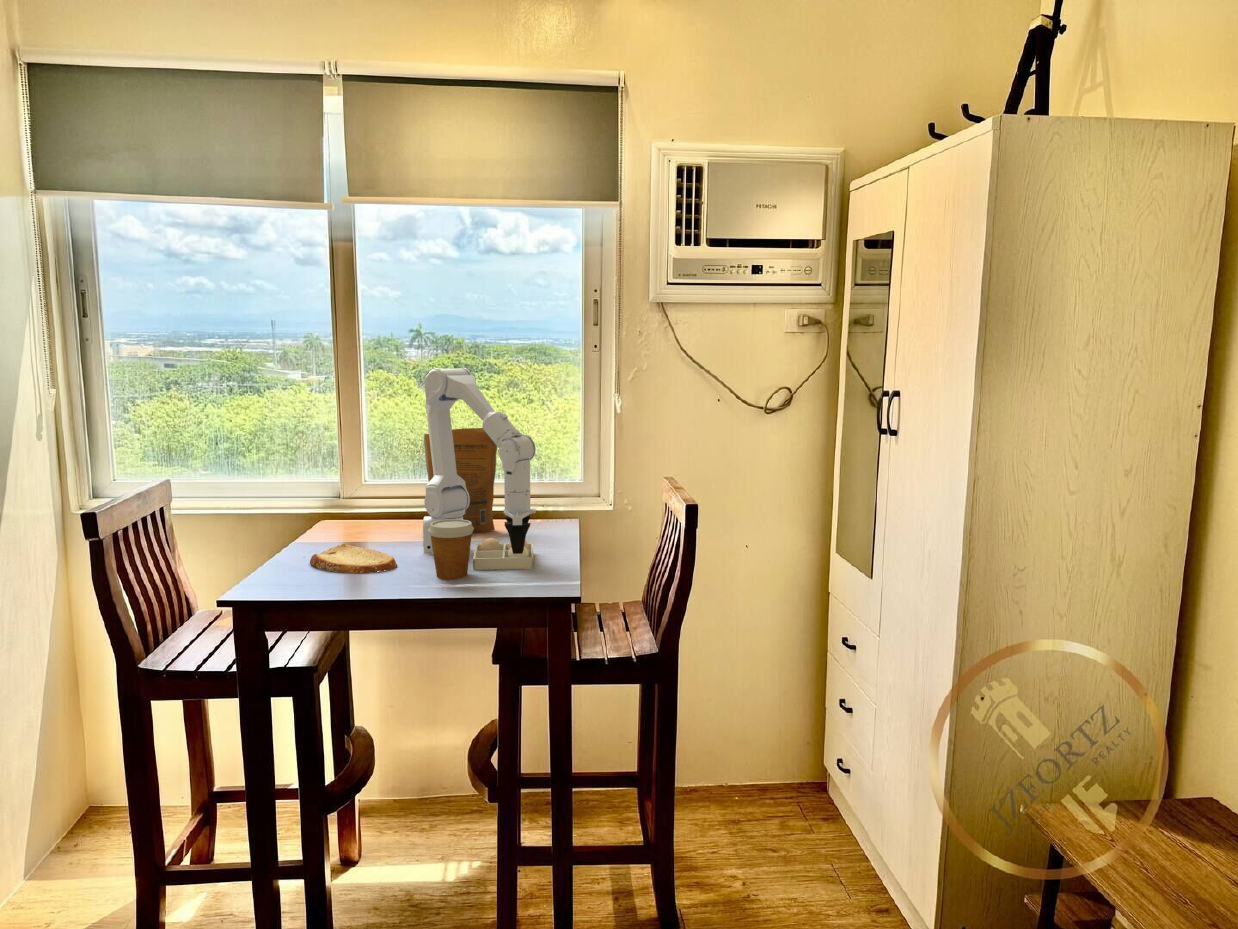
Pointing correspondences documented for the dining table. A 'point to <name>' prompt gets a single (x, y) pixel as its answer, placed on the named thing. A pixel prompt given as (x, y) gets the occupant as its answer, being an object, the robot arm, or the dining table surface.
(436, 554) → the disposable coffee cup
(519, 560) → the egg carton
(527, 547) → the brown egg right
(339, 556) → the slice of bread
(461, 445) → the pancake mix bag
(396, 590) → the dining table surface
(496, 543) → the brown egg left
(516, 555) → the white egg
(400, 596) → the dining table surface
